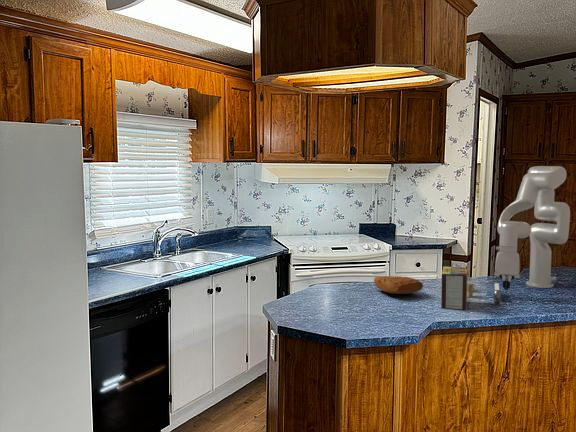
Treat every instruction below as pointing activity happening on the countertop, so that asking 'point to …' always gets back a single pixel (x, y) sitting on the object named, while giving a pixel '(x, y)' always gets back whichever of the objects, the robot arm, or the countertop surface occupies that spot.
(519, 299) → the countertop surface
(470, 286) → the stile
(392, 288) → the cuneiform tablet
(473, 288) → the tan cube
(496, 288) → the white long bar
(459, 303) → the protein box
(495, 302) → the knob on square plate
